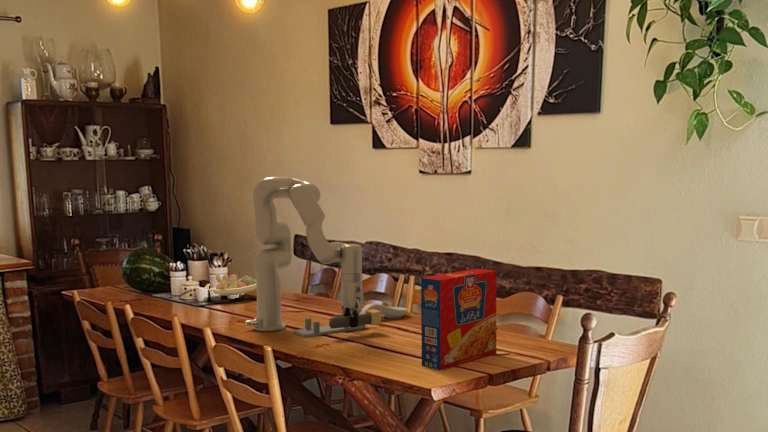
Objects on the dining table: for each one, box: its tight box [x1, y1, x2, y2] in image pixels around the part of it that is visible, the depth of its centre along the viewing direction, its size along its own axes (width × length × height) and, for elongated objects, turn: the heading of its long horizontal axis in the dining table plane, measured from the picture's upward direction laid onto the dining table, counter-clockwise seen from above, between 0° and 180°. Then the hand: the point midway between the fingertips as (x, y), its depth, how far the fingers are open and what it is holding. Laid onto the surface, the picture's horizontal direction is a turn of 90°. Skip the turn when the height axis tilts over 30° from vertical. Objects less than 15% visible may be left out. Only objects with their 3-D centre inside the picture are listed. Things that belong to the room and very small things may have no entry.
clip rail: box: [293, 312, 367, 338], centre depth 265 cm, size 27×9×5 cm, turn 123°
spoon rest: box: [359, 302, 409, 319], centre depth 287 cm, size 24×12×7 cm, turn 130°
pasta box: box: [420, 268, 497, 371], centre depth 221 cm, size 28×8×28 cm, turn 134°
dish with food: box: [203, 273, 256, 297], centre depth 336 cm, size 28×28×14 cm
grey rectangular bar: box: [328, 309, 382, 329], centre depth 256 cm, size 20×5×5 cm, turn 123°
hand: (350, 325), depth 255 cm, fingers closed on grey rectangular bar, 4 cm apart
